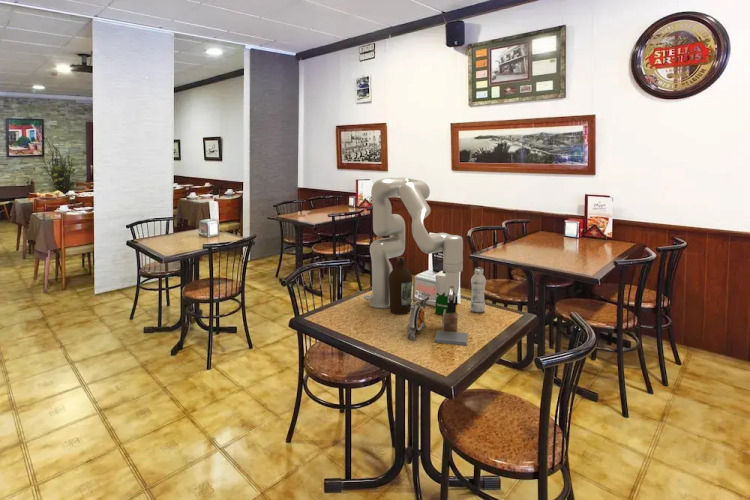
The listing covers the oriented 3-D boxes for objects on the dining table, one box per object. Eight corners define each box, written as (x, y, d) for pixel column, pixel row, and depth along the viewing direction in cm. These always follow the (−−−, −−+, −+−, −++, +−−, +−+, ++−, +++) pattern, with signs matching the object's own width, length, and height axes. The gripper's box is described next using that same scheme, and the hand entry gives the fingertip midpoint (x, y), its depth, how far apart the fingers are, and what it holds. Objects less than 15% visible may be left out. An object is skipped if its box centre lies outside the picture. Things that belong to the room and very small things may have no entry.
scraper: (442, 332, 178) (442, 315, 176) (443, 325, 185) (444, 309, 184) (456, 333, 176) (456, 317, 175) (457, 326, 184) (458, 310, 183)
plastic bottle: (486, 314, 198) (488, 270, 194) (471, 314, 198) (472, 270, 194) (483, 309, 204) (485, 266, 200) (468, 309, 204) (470, 266, 200)
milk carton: (457, 310, 203) (459, 268, 199) (451, 316, 195) (452, 272, 191) (439, 307, 207) (440, 265, 203) (432, 313, 199) (433, 270, 195)
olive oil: (383, 311, 203) (383, 257, 198) (399, 305, 210) (400, 253, 205) (401, 316, 195) (401, 261, 190) (416, 311, 203) (417, 257, 197)
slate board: (434, 342, 168) (434, 339, 168) (436, 333, 177) (436, 330, 177) (466, 345, 165) (466, 342, 165) (467, 336, 174) (467, 333, 174)
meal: (418, 341, 169) (418, 308, 167) (407, 339, 171) (407, 307, 168) (429, 327, 183) (429, 297, 180) (419, 326, 185) (419, 296, 182)
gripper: (445, 261, 184) (445, 301, 188) (441, 271, 168) (440, 314, 171) (463, 262, 183) (463, 302, 186) (461, 272, 166) (460, 316, 169)
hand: (452, 308), depth 178 cm, fingers open, 9 cm apart
